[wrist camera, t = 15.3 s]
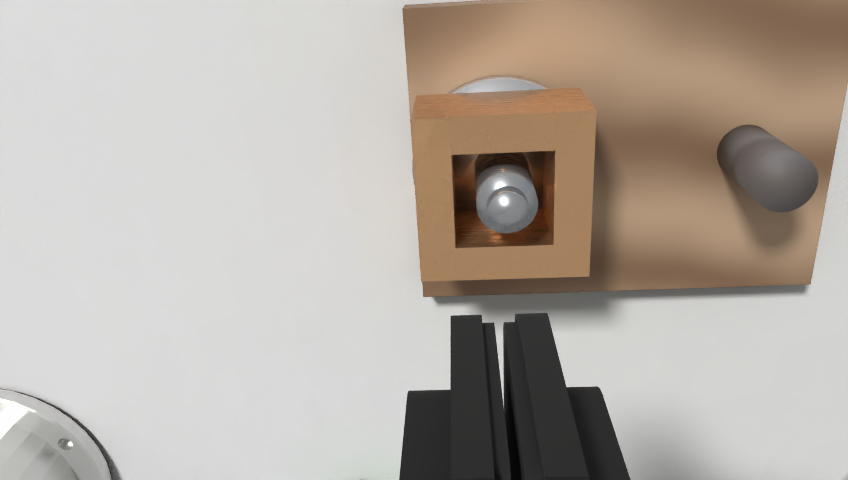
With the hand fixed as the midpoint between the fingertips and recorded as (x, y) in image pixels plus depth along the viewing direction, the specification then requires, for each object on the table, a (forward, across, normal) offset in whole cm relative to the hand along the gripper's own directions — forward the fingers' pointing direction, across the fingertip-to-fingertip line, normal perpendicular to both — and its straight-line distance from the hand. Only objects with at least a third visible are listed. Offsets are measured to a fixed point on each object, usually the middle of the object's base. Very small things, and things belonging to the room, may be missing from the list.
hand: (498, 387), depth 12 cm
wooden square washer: (+20, -1, +2) cm, 20 cm away
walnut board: (+22, -7, +2) cm, 24 cm away
